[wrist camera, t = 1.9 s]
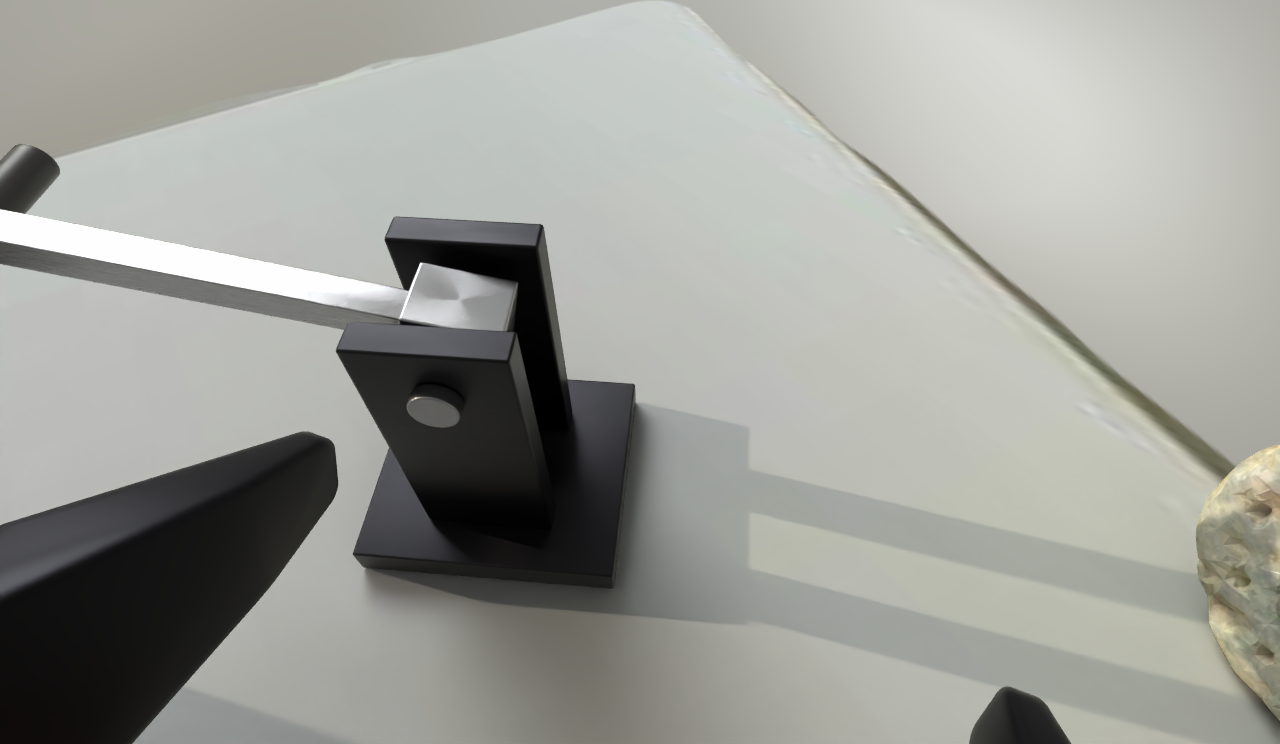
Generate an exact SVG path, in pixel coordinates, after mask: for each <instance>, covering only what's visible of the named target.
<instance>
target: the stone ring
mask: <svg viewBox="0 0 1280 744" xmlns="http://www.w3.org/2000/svg"><path fill="white" fill-rule="evenodd" d="M1196 543H1197V551H1198V558H1199V562H1198V564H1197V568H1198V576H1199V580H1200V582H1201V584H1202V586H1203V588H1204V590H1205V591H1206V593H1207V595H1208V606H1209V622H1210V625H1211V628H1212V631H1213V634H1214V636H1215V638H1216V640H1217V642H1218V643H1219V645H1220V647H1221V649H1222V651H1223V653H1224V654H1225V656H1226V658H1227V660H1228V661H1229V663H1230V665H1231V667H1232V668H1233V670H1234V672H1235V673H1236V674H1237V675H1238V676H1239V677H1240V678H1241V679H1242V680H1243V681H1244V682H1245V683H1246V684H1247V685H1248V686H1249V687H1250V688H1251V689H1252V690H1253V691H1254V692H1255V693H1256V694H1257V695H1258V696H1259V697H1260V698H1261V699H1262V700H1263V701H1264V703H1265V704H1266V706H1267V707H1268V708H1269V709H1270V711H1271V712H1272V713H1273V714H1274V715H1275V717H1276V718H1277V719H1278V720H1279V721H1280V445H1276V446H1272V447H1269V448H1265V449H1263V450H1261V451H1259V452H1258V453H1256V454H1254V455H1252V456H1251V457H1249V458H1248V459H1246V460H1244V461H1243V462H1241V463H1240V464H1239V465H1238V466H1237V467H1236V468H1235V469H1233V470H1232V471H1231V472H1230V473H1229V474H1228V476H1227V477H1226V478H1225V479H1224V480H1223V481H1222V482H1221V483H1220V484H1219V485H1218V486H1217V488H1216V489H1215V490H1214V491H1213V492H1212V493H1211V494H1210V495H1209V497H1208V499H1207V501H1206V504H1205V506H1204V508H1203V510H1202V512H1201V515H1200V518H1199V520H1198V523H1197V528H1196Z"/></svg>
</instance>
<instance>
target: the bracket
mask: <svg viewBox="0 0 1280 744" xmlns="http://www.w3.org/2000/svg"><path fill="white" fill-rule="evenodd" d="M385 242H386V245H387V247H388V250H389V253H390V255H391V258H392V260H393V263H394V265H395V268H396V270H397V273H398V275H399V278H400V280H401V283H402V286H403V288H404V289H405V290H409V289H410V286H411V284H412V281H413V278H414V276H415V273H416V270H417V268H418V265H419V263H420V262H425V263H430V264H435V265H440V266H445V267H450V268H455V269H460V270H465V271H470V272H474V273H479V274H484V275H489V276H494V277H499V278H504V279H509V280H514V281H517V282H518V294H517V304H516V315H515V325H514V332H505V331H489V330H474V329H458V328H442V327H426V326H411V325H395V324H379V323H364V322H348V323H347V325H346V328H345V330H344V332H343V334H342V337H341V339H340V341H339V344H338V346H337V348H336V353H337V354H338V356H339V358H340V360H341V362H342V363H343V365H344V367H345V369H346V371H347V372H348V374H349V376H350V378H351V379H352V381H353V383H354V385H355V387H356V388H357V390H358V392H359V394H360V396H361V397H362V399H363V401H364V403H365V405H366V406H367V408H368V410H369V412H370V413H371V415H372V417H373V419H374V421H375V422H376V424H377V426H378V428H379V430H380V431H381V433H382V435H383V437H384V438H385V440H386V442H387V444H388V446H389V450H388V453H387V456H386V459H385V461H384V464H383V467H382V470H381V473H380V476H379V479H378V482H377V485H376V488H375V491H374V494H373V496H372V499H371V502H370V505H369V508H368V511H367V514H366V517H365V520H364V523H363V526H362V528H361V531H360V534H359V537H358V540H357V543H356V546H355V549H354V552H353V555H354V556H355V558H356V559H357V560H358V561H359V563H360V564H361V565H362V566H363V567H366V568H378V569H390V570H402V571H413V572H425V573H437V574H448V575H460V576H472V577H483V578H495V579H507V580H518V581H530V582H542V583H554V584H565V585H577V586H589V587H600V588H614V584H615V575H616V566H617V557H618V549H619V540H620V531H621V523H622V514H623V505H624V497H625V488H626V479H627V470H628V462H629V453H630V444H631V436H632V427H633V418H634V409H635V385H634V384H626V383H611V382H597V381H582V380H567V374H566V368H565V361H564V355H563V348H562V342H561V336H560V329H559V323H558V316H557V310H556V303H555V297H554V290H553V284H552V278H551V271H550V265H549V258H548V252H547V245H546V239H545V233H544V227H543V225H541V224H524V223H506V222H487V221H469V220H450V219H432V218H413V217H394V218H393V220H392V222H391V225H390V227H389V229H388V231H387V234H386V236H385Z"/></svg>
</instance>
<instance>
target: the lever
mask: <svg viewBox="0 0 1280 744" xmlns="http://www.w3.org/2000/svg"><path fill="white" fill-rule="evenodd" d="M59 174H60V169H59V166H58V164H57V163H56V162H55V160H54V159H53V158H52V157H51V156H49V155H48V154H47V153H45V152H44V151H42V150H40V149H38V148H36V147H33V146H31V145H26V144H19V145H16V146H14V147H13V148H12V149H11V150H10V151H9V152H8V153H7V154H6V155H5V156H4V157H3V158H2V159H1V160H0V264H3V265H8V266H13V267H18V268H24V269H29V270H34V271H39V272H45V273H50V274H55V275H60V276H66V277H71V278H76V279H81V280H86V281H92V282H97V283H102V284H107V285H113V286H118V287H123V288H128V289H134V290H139V291H144V292H149V293H154V294H160V295H165V296H170V297H175V298H181V299H186V300H191V301H196V302H201V303H207V304H212V305H217V306H222V307H228V308H233V309H238V310H243V311H249V312H254V313H259V314H264V315H269V316H275V317H280V318H285V319H290V320H296V321H301V322H306V323H311V324H317V325H322V326H327V327H332V328H337V329H343V330H345V328H346V325H347V323H348V322H364V323H379V324H395V325H411V326H426V327H442V328H458V329H474V330H489V331H505V332H514V325H515V315H516V304H517V294H518V282H517V281H514V280H509V279H504V278H499V277H494V276H489V275H484V274H479V273H474V272H470V271H465V270H460V269H455V268H450V267H445V266H440V265H435V264H430V263H425V262H420V263H419V265H418V268H417V270H416V273H415V276H414V278H413V281H412V284H411V286H410V289H409V290H405V289H400V288H394V287H389V286H384V285H379V284H374V283H369V282H364V281H359V280H354V279H349V278H344V277H339V276H334V275H329V274H324V273H319V272H314V271H309V270H304V269H299V268H294V267H289V266H284V265H279V264H274V263H269V262H264V261H259V260H254V259H248V258H243V257H238V256H233V255H228V254H223V253H218V252H213V251H208V250H203V249H198V248H193V247H188V246H183V245H178V244H173V243H168V242H163V241H158V240H153V239H148V238H143V237H138V236H133V235H128V234H123V233H118V232H113V231H107V230H102V229H97V228H92V227H87V226H82V225H77V224H72V223H67V222H62V221H57V220H52V219H47V218H42V217H37V216H32V215H27V214H25V213H26V212H27V211H28V210H29V209H30V208H31V207H32V206H33V204H34V203H35V202H36V201H37V200H38V199H39V198H40V197H41V195H42V194H43V193H44V192H45V191H46V190H47V189H48V187H49V186H50V185H51V184H52V183H53V182H54V181H55V180H56V178H57V177H58V176H59Z"/></svg>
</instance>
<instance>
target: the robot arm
mask: <svg viewBox="0 0 1280 744" xmlns="http://www.w3.org/2000/svg"><path fill="white" fill-rule="evenodd" d="M337 488H338V476H337V465H336V454H335V446H334V444H333V443H332V441H331V440H329V439H327V438H325V437H322V436H319V435H316V434H314V433H311V432H299V433H295V434H292V435H289V436H286V437H283V438H279V439H276V440H273V441H270V442H266V443H263V444H260V445H257V446H254V447H250V448H247V449H244V450H241V451H237V452H234V453H231V454H228V455H225V456H221V457H218V458H215V459H212V460H208V461H205V462H202V463H199V464H196V465H192V466H189V467H186V468H183V469H179V470H176V471H173V472H170V473H167V474H163V475H160V476H157V477H154V478H150V479H147V480H144V481H141V482H138V483H134V484H131V485H128V486H125V487H121V488H118V489H115V490H112V491H109V492H105V493H102V494H99V495H96V496H92V497H89V498H86V499H83V500H79V501H76V502H73V503H70V504H67V505H63V506H60V507H57V508H54V509H50V510H47V511H44V512H41V513H37V514H34V515H31V516H28V517H25V518H21V519H18V520H15V521H12V522H8V523H5V524H3V525H0V744H132V743H133V742H134V741H135V740H136V739H137V738H138V736H139V735H140V734H141V733H142V732H143V731H144V730H145V729H146V727H147V726H148V725H149V724H150V723H151V722H152V721H153V719H154V718H155V717H156V716H157V715H158V714H159V713H160V712H161V710H162V709H163V708H164V707H165V706H166V705H167V704H168V703H169V701H170V700H171V699H172V698H173V697H174V696H175V695H176V693H177V692H178V691H179V690H180V689H181V688H182V687H183V686H184V684H185V683H186V682H187V681H188V680H189V679H190V678H191V677H192V675H193V674H194V673H195V672H196V671H197V670H198V669H199V667H200V666H201V665H202V664H203V663H204V662H205V661H206V660H207V658H208V657H209V656H210V655H211V654H212V653H213V652H214V650H215V649H216V648H217V647H218V646H219V645H220V644H221V643H222V641H223V640H224V639H225V638H226V637H227V636H228V635H229V634H230V632H231V631H232V630H233V629H234V628H235V627H236V626H237V624H238V623H239V622H240V621H241V620H242V619H243V618H244V617H245V615H246V614H247V613H248V612H249V611H250V610H251V609H252V607H253V606H254V605H255V604H256V603H257V602H258V601H259V599H260V598H261V597H262V596H263V595H264V593H265V592H266V591H267V590H268V589H269V587H270V586H271V585H272V584H273V582H274V581H275V580H276V578H277V577H278V576H279V574H280V573H281V572H282V570H283V569H284V567H285V566H286V565H287V563H288V562H289V561H290V559H291V558H292V556H293V555H294V554H295V552H296V551H297V549H298V548H299V547H300V545H301V544H302V542H303V541H304V540H305V538H306V537H307V536H308V534H309V533H310V531H311V530H312V529H313V527H314V526H315V524H316V523H317V522H318V520H319V519H320V517H321V516H322V515H323V513H324V512H325V511H326V509H327V508H328V506H329V505H330V504H331V502H332V501H333V499H334V497H335V495H336V492H337ZM969 744H1071V743H1070V741H1069V740H1068V738H1067V736H1066V735H1065V733H1064V732H1063V730H1062V729H1061V727H1060V725H1059V724H1058V722H1057V721H1056V719H1055V717H1054V716H1053V714H1052V713H1051V711H1050V710H1049V708H1048V706H1047V705H1046V704H1045V703H1044V702H1043V701H1042V700H1041V699H1040V698H1038V697H1036V696H1034V695H1031V694H1028V693H1025V692H1023V691H1020V690H1017V689H1014V688H1012V687H1003V688H1001V689H1000V690H999V691H998V692H997V693H996V695H995V696H994V698H993V699H992V701H991V702H990V703H989V705H988V706H987V708H986V709H985V711H984V712H983V714H982V715H981V716H980V718H979V719H978V721H977V722H976V724H975V726H974V728H973V730H972V733H971V737H970V742H969Z"/></svg>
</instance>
